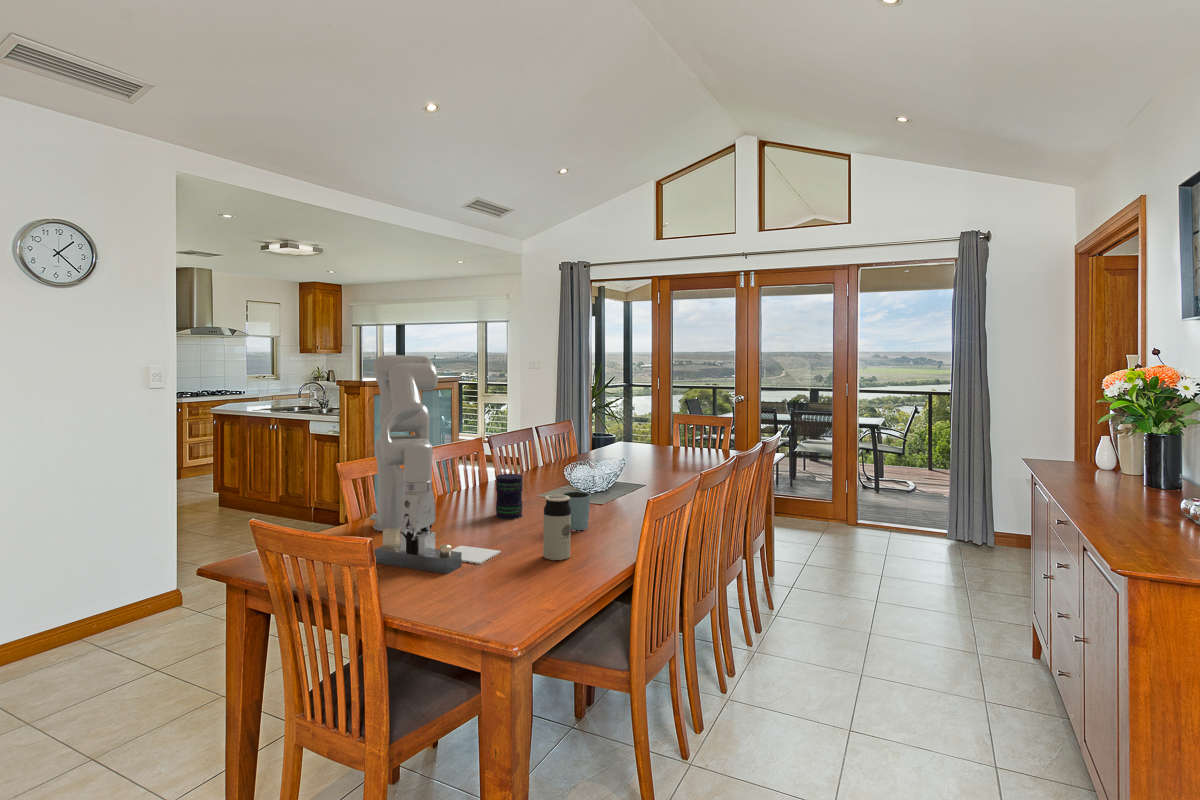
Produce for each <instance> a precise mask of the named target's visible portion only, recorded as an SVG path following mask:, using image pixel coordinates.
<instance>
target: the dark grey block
mask: <svg viewBox="0 0 1200 800" xmlns="http://www.w3.org/2000/svg"><path fill="white" fill-rule="evenodd" d="M400 534H401V533H400V529H392V528H387V529H384V530H383V532H382V545H381V546H379V547H376V548H374V557H375V556H376V563H375V564H380V565H386V566H391V567H399V568H406V569H411V570H412V569H413V570H418V571H424V572H432V573H437V574H438V573H439V574H443V575H444V574H445V575H448V574H451V573H452V572H454V571H456V570H458V569H459V567H460V568H461V567H462V565H463V564H462V563H463V562H462V552H455V551H451V550H452V544H448V543H447V544H446V543H445V544H444V543H443V544H440V545H439V549H438V548H435V550H434V551H432V552H430V553H428V554H426V555H421V554H409V553H406V552H401V551H400Z"/></svg>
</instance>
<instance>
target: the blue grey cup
mask: <svg viewBox="0 0 1200 800" xmlns="http://www.w3.org/2000/svg"><path fill="white" fill-rule="evenodd" d="M560 495H567V496H569V497H570V499H569V505H570V507H571V530H584V529H587V528H589V518H590V516H589V515H590V505H591V496H592V495H591V493H589V492H586V491H578V490H573V491H572V490H571V491H566V492H563V493H561V494H560ZM587 530H588V529H587Z"/></svg>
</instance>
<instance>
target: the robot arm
mask: <svg viewBox="0 0 1200 800" xmlns="http://www.w3.org/2000/svg"><path fill="white" fill-rule="evenodd" d="M373 372H374V377H375V380H376V381H377V384H378V387H379V394H380V395H379V396H380V397H379V398H380V400H379V412H380V413H379V422H380V423H379V424H380V429H379V438H378V439H377V440H376V441H375V443H374V453H375V458H376V459H375V460H376V466H377V467H376V468H377V513H375V512H373V513H371V515H370V516H369V520H370V521H375V522H374V524H373V527H372V528H374V529H375V530H377V531H376V532H379V531H383V530H384V529H387V528H392V529H400V534H401V533H402V534H403V536H404V537H405V539H406V553H409V554H417V540H415V538H416V532H417V530H419V531H426V532H432V531H431V529H432V527H433V525H434V523H435V522H436V503H435V496H434V490H433V471H432V470H433V455H434V449H433V448H434V447H433V444H432V443H431V442H430V413H429V412H430V411H429V409H428V407H427V406H426V405H424V404H423V403H422V397H421V392H420V391H432V390H436V388H437V386H438V382H439V378H438V377H439V376H438V371H437V368H436V366H435V364H434V363H433V362H432V360H430V358H429V357H427V356H424V355H400V354H387V355H380V356H378V357H376V358H375V359H374V362H373ZM408 432H409V433H411V432H413V433H414V434H397V435H396V434H395V435H393V434H392V435H391V433H408ZM401 466H403V468H402V467H401ZM374 529H373V530H374ZM375 530H374V531H375ZM410 530H411V531H413V532H412V534H411V533H410Z"/></svg>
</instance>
